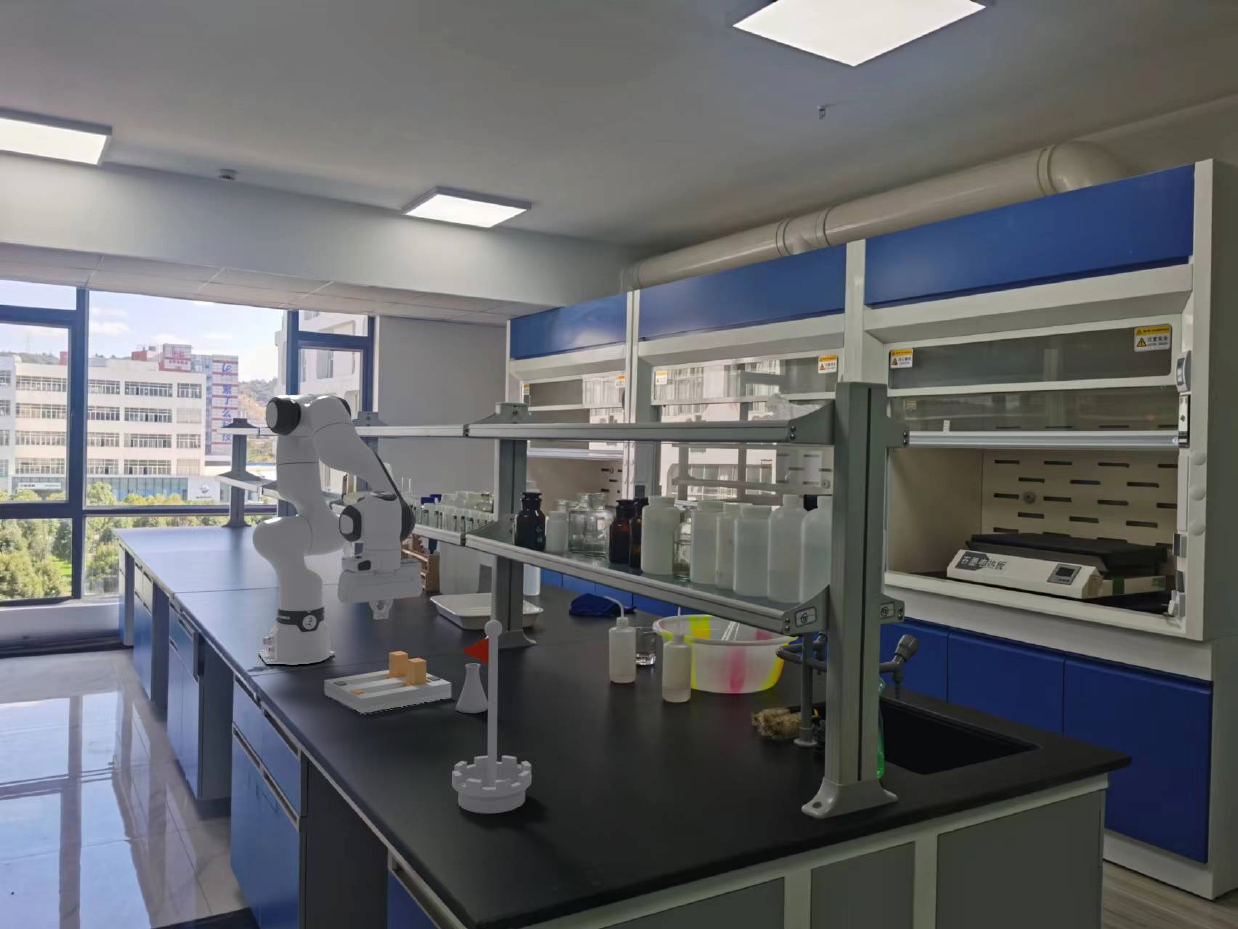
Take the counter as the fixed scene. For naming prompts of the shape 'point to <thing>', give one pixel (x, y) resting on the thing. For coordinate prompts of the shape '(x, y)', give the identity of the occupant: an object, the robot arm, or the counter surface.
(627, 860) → the counter surface
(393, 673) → the tab
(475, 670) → the flask
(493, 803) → the flag stand
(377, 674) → the switch box
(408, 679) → the tab
